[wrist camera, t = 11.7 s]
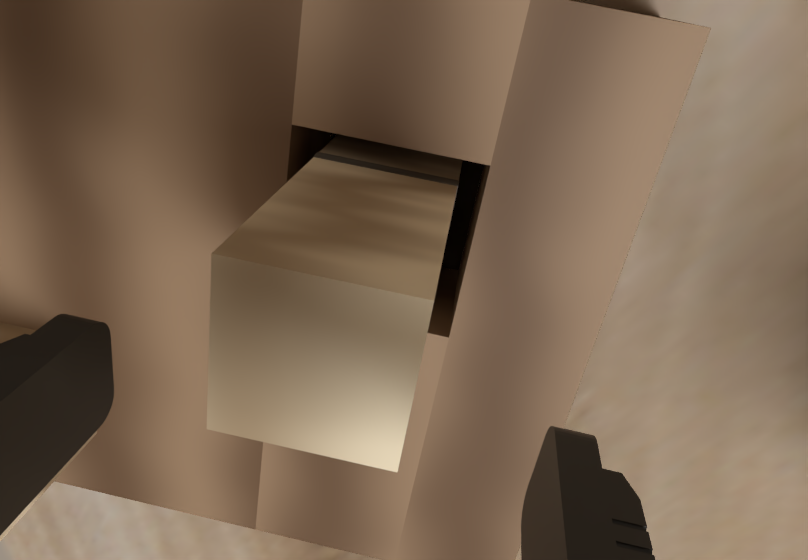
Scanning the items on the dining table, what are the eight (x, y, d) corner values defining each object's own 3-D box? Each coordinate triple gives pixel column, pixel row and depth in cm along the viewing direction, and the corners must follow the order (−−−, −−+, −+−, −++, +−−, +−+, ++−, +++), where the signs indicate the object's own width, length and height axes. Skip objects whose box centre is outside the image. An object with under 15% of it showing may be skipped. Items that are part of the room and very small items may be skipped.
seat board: (661, 17, 19) (872, 61, 8) (503, 491, 28) (506, 809, 17) (-18, -114, 20) (-614, -226, 9) (39, 384, 29) (-231, 620, 18)
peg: (467, 141, 21) (435, 299, 11) (444, 246, 23) (398, 473, 12) (353, 118, 22) (209, 252, 11) (339, 225, 23) (205, 429, 13)
